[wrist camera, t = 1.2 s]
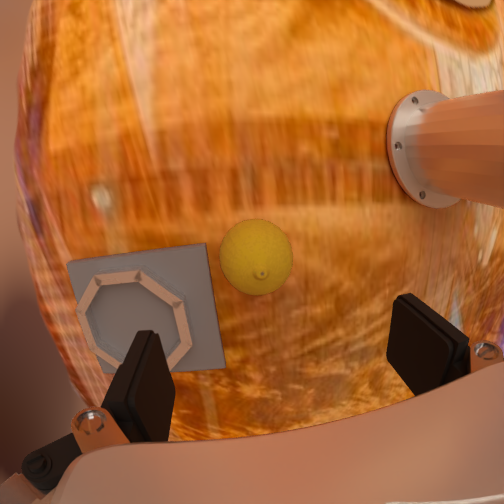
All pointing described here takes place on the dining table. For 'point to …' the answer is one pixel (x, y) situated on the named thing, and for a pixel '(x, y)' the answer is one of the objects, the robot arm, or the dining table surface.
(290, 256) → the lemon
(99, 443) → the robot arm
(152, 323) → the board
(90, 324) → the ring
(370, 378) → the dining table surface
